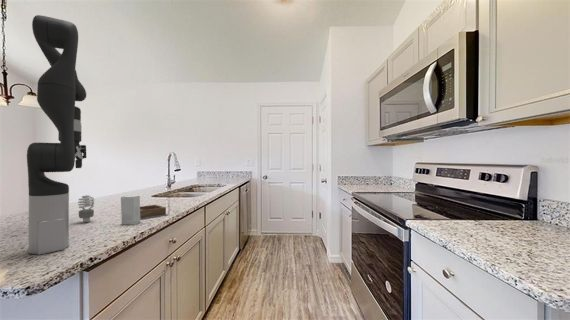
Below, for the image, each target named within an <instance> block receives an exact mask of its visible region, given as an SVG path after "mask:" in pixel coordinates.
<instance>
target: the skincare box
mask: <svg viewBox="0 0 570 320" xmlns="http://www.w3.org/2000/svg"><path fill="white" fill-rule="evenodd" d="M140 198H141V197H140V195H123V196H121V197H120V208H121V209H120V210H121V213H120V214H121V225H126V226H127V225H132V226H133V225H134V226H135V225H138V224H140V223H141V220H140V207H141V202H140V201H141V200H140Z"/></svg>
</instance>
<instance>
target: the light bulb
mask: <svg viewBox="0 0 570 320" xmlns="http://www.w3.org/2000/svg"><path fill="white" fill-rule="evenodd" d="M77 205H78V209H80V210H78V218H80V219H82V222H84V223H88V222H90V221H91V218H93V217H94V215H95V213H94V211H95V209H93V208H94V205H95V198H94V196H91V195H89V194H88V195H87V194H86V195H82V196H81V198H78V204H77ZM86 208H88V209H86Z"/></svg>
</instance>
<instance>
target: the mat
mask: <svg viewBox="0 0 570 320" xmlns="http://www.w3.org/2000/svg"><path fill="white" fill-rule="evenodd" d="M167 216H168V214H167V213H166V214H165V215H159V216H152V217H146V218H140V221H142V220H148V219H154V218H155V219H156V218H160V217H167Z"/></svg>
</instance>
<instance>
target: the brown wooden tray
mask: <svg viewBox="0 0 570 320" xmlns="http://www.w3.org/2000/svg"><path fill="white" fill-rule="evenodd" d="M166 211H167V208H166V206H162V205H159V204H151V205H145V206H143V205H142V206H140V218H146V217H152V216H159V215H165V214H167V212H166Z"/></svg>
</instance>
